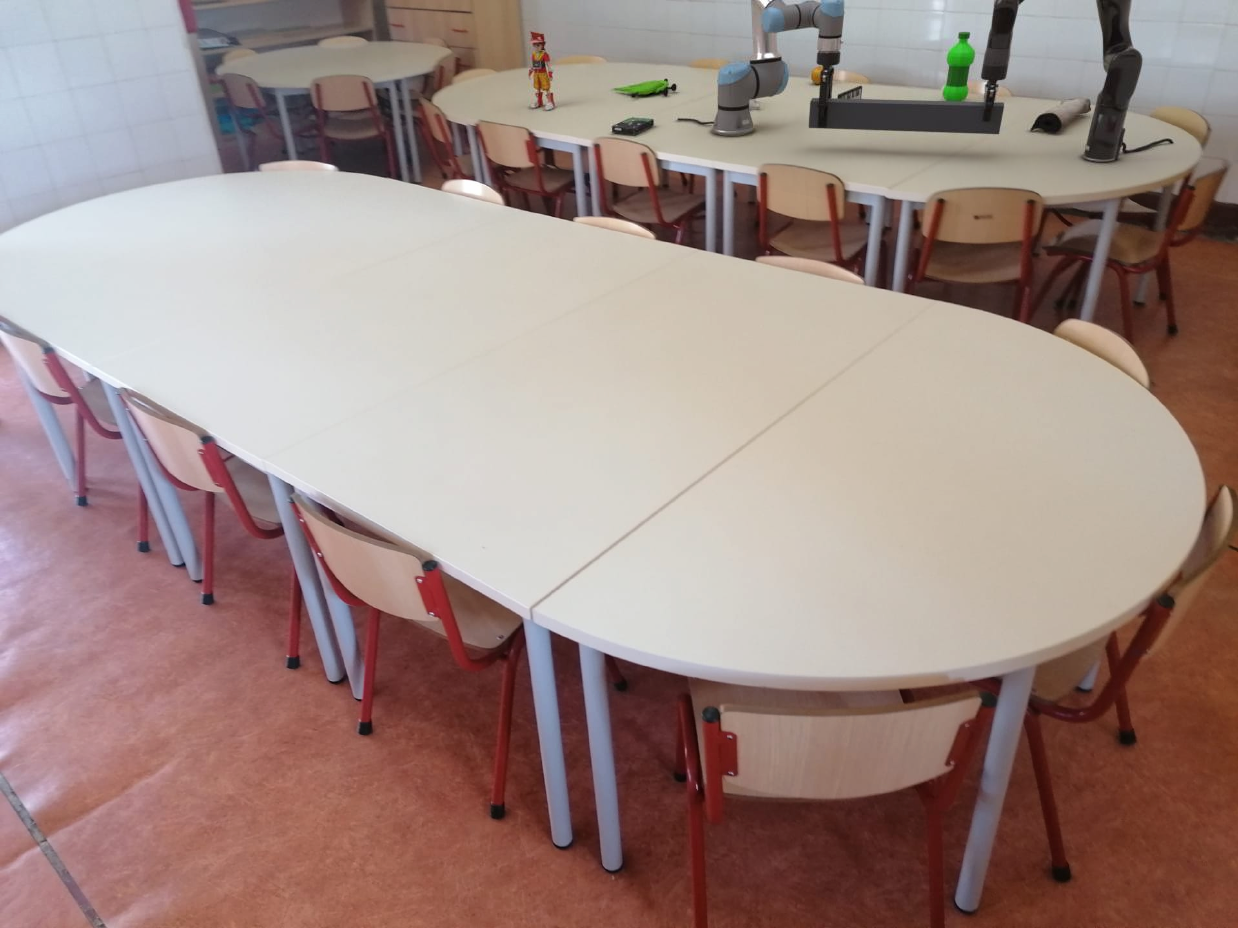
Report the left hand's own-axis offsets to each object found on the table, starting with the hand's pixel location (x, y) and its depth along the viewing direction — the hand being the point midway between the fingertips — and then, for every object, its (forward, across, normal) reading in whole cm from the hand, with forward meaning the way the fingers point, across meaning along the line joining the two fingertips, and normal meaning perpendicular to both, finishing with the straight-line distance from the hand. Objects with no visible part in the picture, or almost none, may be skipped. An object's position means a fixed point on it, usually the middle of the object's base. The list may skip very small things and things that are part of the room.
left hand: (823, 124), depth 307 cm
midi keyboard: (+9, +66, 0) cm, 66 cm away
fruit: (+9, +99, +17) cm, 101 cm away
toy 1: (+9, +43, +125) cm, 133 cm away
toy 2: (+9, +75, +92) cm, 119 cm away
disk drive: (+9, +15, +74) cm, 76 cm away
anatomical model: (+9, +56, +40) cm, 69 cm away
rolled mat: (+9, +46, -78) cm, 91 cm away
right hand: (-3, +1, -52) cm, 52 cm away
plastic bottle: (+9, +73, -40) cm, 84 cm away
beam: (+1, +1, -26) cm, 26 cm away
